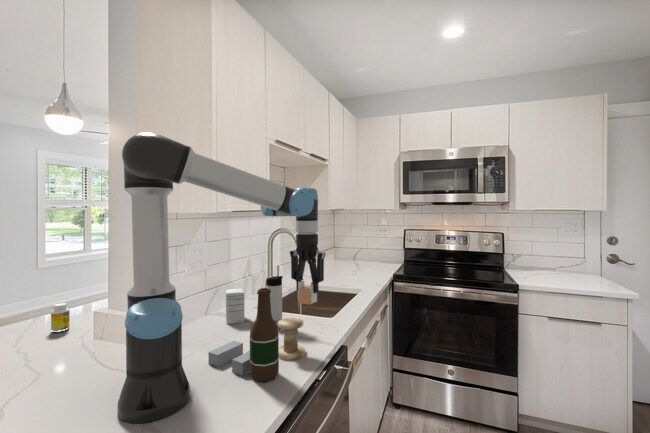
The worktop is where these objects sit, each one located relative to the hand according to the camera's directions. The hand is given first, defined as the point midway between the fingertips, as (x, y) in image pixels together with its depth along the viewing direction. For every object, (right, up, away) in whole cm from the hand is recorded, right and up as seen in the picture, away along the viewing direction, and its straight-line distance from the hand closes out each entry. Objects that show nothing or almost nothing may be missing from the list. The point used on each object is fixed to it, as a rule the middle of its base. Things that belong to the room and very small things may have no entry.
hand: (307, 301), depth 111 cm
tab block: (0, 0, 0) cm, 1 cm away
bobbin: (-5, -15, -8) cm, 17 cm away
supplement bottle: (-96, -15, +14) cm, 98 cm away
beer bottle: (-11, -15, -22) cm, 29 cm away
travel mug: (-14, -15, +17) cm, 27 cm away
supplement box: (-32, -15, +25) cm, 43 cm away
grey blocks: (-20, -15, -14) cm, 29 cm away
